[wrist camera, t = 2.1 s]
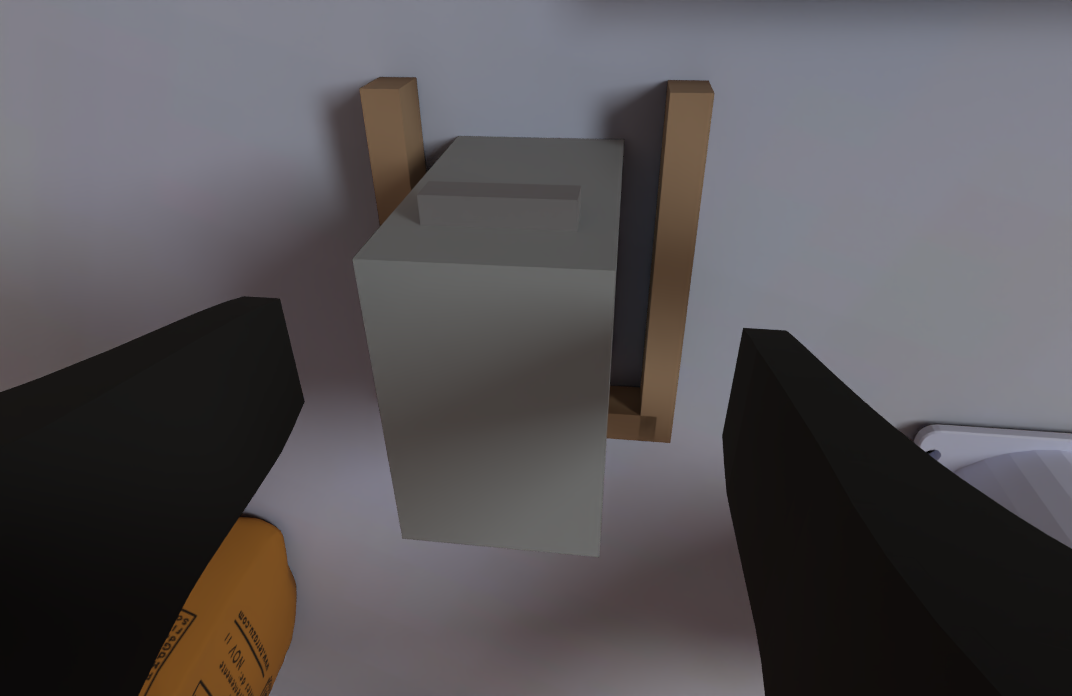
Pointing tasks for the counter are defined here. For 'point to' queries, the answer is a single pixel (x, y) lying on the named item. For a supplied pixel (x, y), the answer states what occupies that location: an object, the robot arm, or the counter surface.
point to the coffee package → (231, 621)
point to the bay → (675, 232)
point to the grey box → (498, 341)
